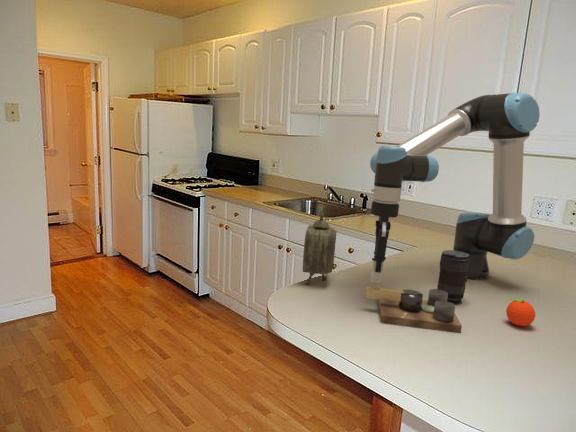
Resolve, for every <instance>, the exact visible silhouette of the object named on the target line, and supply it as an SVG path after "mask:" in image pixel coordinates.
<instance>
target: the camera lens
mask: <svg viewBox="0 0 576 432" xmlns="http://www.w3.org/2000/svg"><path fill="white" fill-rule="evenodd" d="M468 267H469V254H467V253H465V252H460V251H454V250H453V249H451V250H450V249H447V250H443V251H441V255H440V261H439V273H438V274H439V275H438V280H437V287H436V289H439V290H443V291H445V292H447V293H448V298H447V302H450V303H453V304H454V305H460V304H461V302H462V299H464V295H465V291H466V283H467V281H468V278H467V272H468Z"/></svg>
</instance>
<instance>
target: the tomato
mask: <svg viewBox="0 0 576 432" xmlns="http://www.w3.org/2000/svg"><path fill="white" fill-rule="evenodd" d="M508 301H511V302H510V303H508V305H507V307H506V311H505V312H506V317H507V319H508V320H509V321H510V322H511V324H513V325H515V326H518V327H526V326H530V325H531V324H533V322H534V320H535V318H536V310H535V308H534V307H533V305H532V304H531V303H530V302H528V301H526V300H522V299H519V298H513V299H512V298H510V299H508V300H507V302H508Z"/></svg>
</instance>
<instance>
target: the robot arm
mask: <svg viewBox="0 0 576 432" xmlns="http://www.w3.org/2000/svg"><path fill="white" fill-rule="evenodd" d="M539 120H540V107H539V103H538V102H537V100H536V99H535V98H534V97H533V95H531V94H530V93H529V94H528V93H526V92H525V93H524V92H522V93H521V92H510V93H508V92H507V93H500V94H485V95H480V96H478V97H475V98H473V99H471V100H468V101H466V102H464V103H462V104H461V105H458V106H457V107H456V108H453V109H452V110H450V111H449V112H448V113H447V116H446V117H444V118H443V119H441V120H439V121H437V122H436V123H434V124H432V125H430V126H428V127H427V128H425V129H423V130H422V131H420V132H418V133H417V134H415V135H413V136H412V137H410V138H409V139H406V140H405V141H402V142H401V143H400V144H398V145H396V146H391V145H380V147H378V151H377V152H375V153H374V154H373V155H372V156H371V159H370V163H369V167H370V169H371V171H372V172H373V173H374V182H373V183H374V184H373V186H374V187H373V188H371V190H370V191H371V192H372V199H373V200H372V202H371V208H370V214H371V215H373V216H375V217H378V220H375V231H374V232H375V233H374V234H375V240H374V241H375V242H374V243H375V244H374V251H373V254H374V255H373V257H372V259H371V260H372V262H373V265H372V274H371V283H377V284H378V283H379V284H382V279H383V278H382V277H383V271H384V262H385V261H386V260H387V258H386V252H387V244H388V239H389V235H390V230H391V228H392V227H391V225H392V223H391V221H389V219H390V218H397V217H398V216H399V209H400V204H399V203H400V202H401V196H402V194H401V193H402V187H403V186H402V185H403V182H419V183H425V182H426V183H428V182H432V181H434V180H435V179H436V178H437V176H438V174H439V169H440V165H439V162H438V160H437V158H435V157H433V156H432V155H431V156H430V154H431V153H433V152H435V151H436V150H438V149H440V148H441V147H443V146H445V145H447V144H448V143H449V142H452V140H454V139H456V138H457V137H465V136H468V135H469V134H470V133H474V132H488V140H490V141H491V142H492V143H493V161H492V163H493V164H492V165H493V167H492V168H493V170H492V171H493V172H492V173H493V174H492V213H484V212H462V213H460V214H459V215H458V216H457V221H456V226H455V233H454V241H453V248H452V250H454V251H460V252H465V253H467V254H469V267H468V272H467V280H468V279H469V280H487V279H488V278H489V276H490V268H489V267H490V266H489V262H488V258H487V255H488V253H490V254H493V255H496V256H499V257H502V258H503V259H510V260H515V261H516V260H519V259H522V258H524V257H525V256H526V255H527V254H528V253H529V251H530V250H531V249H532V247H533V244H534V241H535V233H534V231H533V229H532V228H531V227H529V226H527V218H526V216H524V215H523V214H522V209H523V208H522V207H523V206H522V205H523V178H524V177H523V176H524V175H523V174H524V172H523V171H524V151H525V150H524V148H525V141H526V140H527V139H528V138H529V137H530V134H531V131H533V130H534V129H536V127H537V125H538V124H537V123H539Z"/></svg>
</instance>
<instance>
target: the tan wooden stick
mask: <svg viewBox="0 0 576 432" xmlns="http://www.w3.org/2000/svg"><path fill="white" fill-rule="evenodd" d="M365 297H366V298H369V299H375V300H376V299H377V300H378V299H383V300H392V301H399V307H400V308H401V309H403V310H406V311H411V312H418V311H420V310H421V306H422V300H424V299H423V297H424V294H423V293H421V292H420V291H418V290H414V289H402V290H401V289H391V288H382V287H376V286H375V287H374V286H369V285H368V286H366V293H365Z"/></svg>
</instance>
